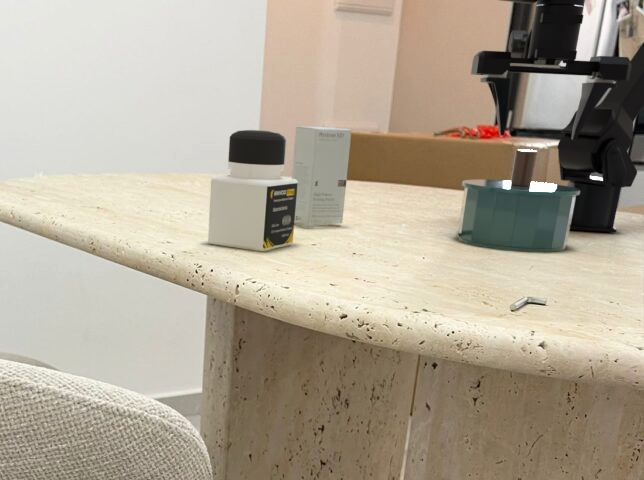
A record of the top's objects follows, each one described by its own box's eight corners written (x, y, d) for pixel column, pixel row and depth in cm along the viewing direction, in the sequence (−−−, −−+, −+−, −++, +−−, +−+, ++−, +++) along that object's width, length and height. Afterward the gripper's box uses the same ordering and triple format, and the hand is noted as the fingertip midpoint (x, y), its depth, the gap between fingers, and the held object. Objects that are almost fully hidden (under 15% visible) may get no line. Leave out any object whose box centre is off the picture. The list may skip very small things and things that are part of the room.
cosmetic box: (307, 228, 119) (316, 127, 115) (285, 223, 123) (293, 125, 119) (344, 227, 123) (354, 128, 118) (321, 222, 126) (330, 126, 122)
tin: (552, 239, 121) (561, 187, 119) (576, 254, 109) (587, 198, 107) (452, 232, 122) (459, 181, 120) (465, 247, 111) (474, 191, 108)
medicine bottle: (263, 252, 100) (272, 133, 96) (206, 243, 104) (212, 128, 100) (293, 245, 106) (303, 132, 102) (238, 237, 110) (245, 128, 105)
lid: (563, 192, 119) (571, 150, 118) (592, 204, 107) (601, 157, 105) (454, 186, 121) (460, 144, 119) (469, 196, 108) (476, 150, 106)
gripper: (617, 15, 125) (594, 138, 131) (474, 9, 127) (457, 131, 133) (644, 8, 115) (617, 142, 120) (487, 1, 117) (468, 134, 122)
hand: (537, 137), depth 124 cm, fingers open, 9 cm apart
